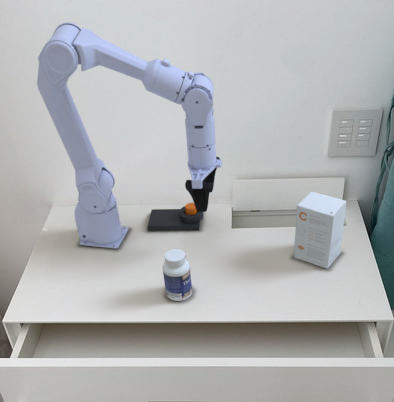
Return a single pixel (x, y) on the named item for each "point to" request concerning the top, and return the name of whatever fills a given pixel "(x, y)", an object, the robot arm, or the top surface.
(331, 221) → the small box
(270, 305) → the top surface
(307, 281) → the top surface
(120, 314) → the top surface
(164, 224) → the scale
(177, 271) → the pill bottle
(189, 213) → the button
